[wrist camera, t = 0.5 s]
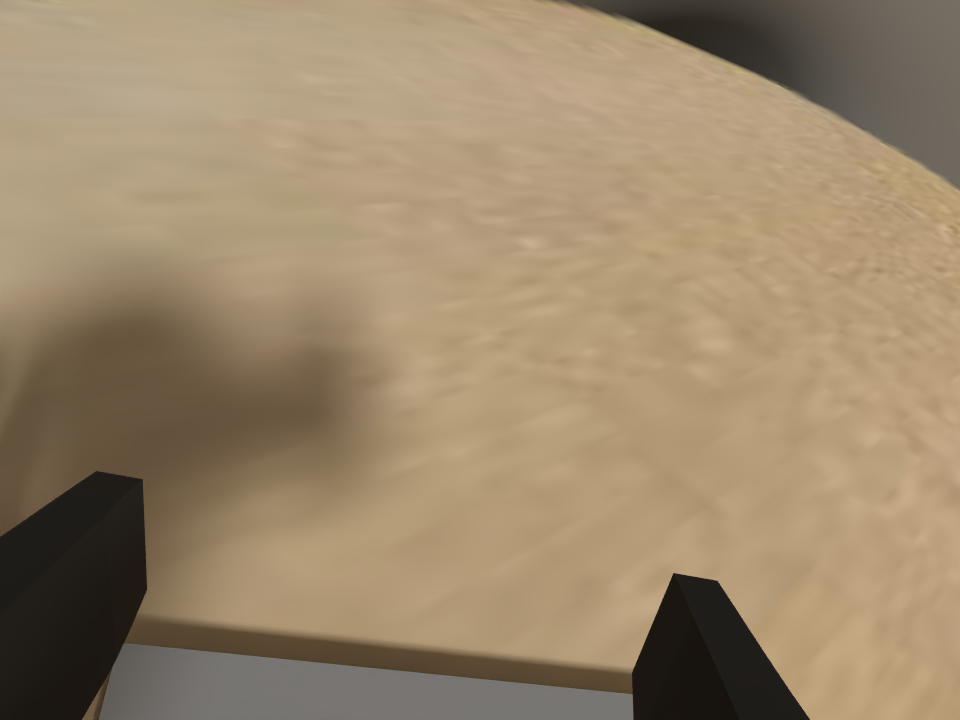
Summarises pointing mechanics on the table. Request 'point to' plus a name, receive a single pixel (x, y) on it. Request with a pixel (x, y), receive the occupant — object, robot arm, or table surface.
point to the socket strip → (326, 692)
